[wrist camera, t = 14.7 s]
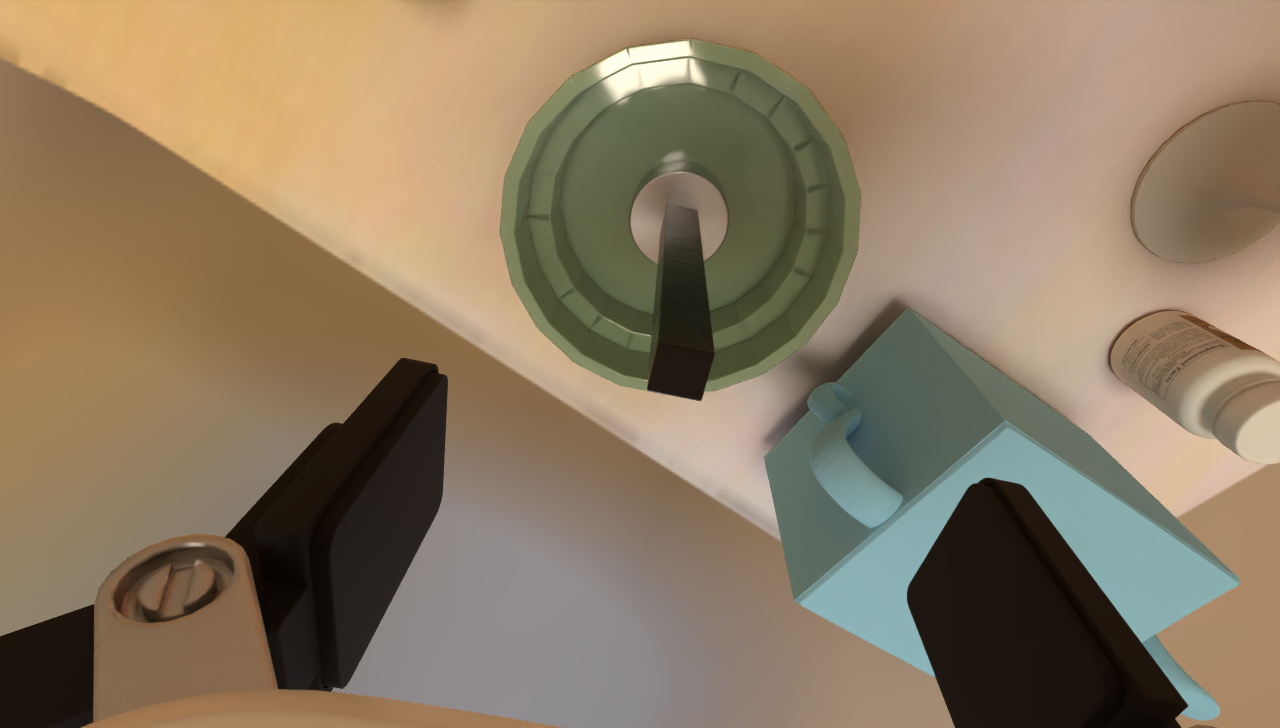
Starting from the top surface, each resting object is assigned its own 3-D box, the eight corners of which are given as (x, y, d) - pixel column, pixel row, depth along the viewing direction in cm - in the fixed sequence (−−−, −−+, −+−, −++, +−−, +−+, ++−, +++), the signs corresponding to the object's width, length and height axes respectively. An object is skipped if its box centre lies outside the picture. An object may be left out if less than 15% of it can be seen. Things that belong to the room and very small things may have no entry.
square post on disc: (736, 171, 28) (797, 309, 14) (712, 261, 30) (743, 461, 16) (642, 151, 27) (606, 269, 13) (624, 243, 30) (577, 428, 15)
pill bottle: (1212, 353, 31) (1359, 440, 25) (1124, 397, 33) (1241, 490, 26) (1185, 291, 30) (1333, 365, 23) (1094, 340, 31) (1209, 423, 25)
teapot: (722, 417, 35) (747, 617, 23) (855, 264, 30) (975, 416, 18) (991, 576, 40) (1128, 811, 28) (1142, 466, 35) (1387, 693, 23)
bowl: (872, 79, 26) (921, 90, 21) (774, 359, 33) (792, 420, 28) (551, 6, 26) (519, -2, 20) (518, 307, 32) (488, 360, 27)
